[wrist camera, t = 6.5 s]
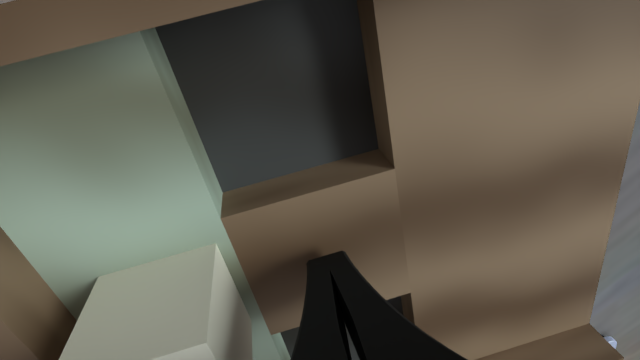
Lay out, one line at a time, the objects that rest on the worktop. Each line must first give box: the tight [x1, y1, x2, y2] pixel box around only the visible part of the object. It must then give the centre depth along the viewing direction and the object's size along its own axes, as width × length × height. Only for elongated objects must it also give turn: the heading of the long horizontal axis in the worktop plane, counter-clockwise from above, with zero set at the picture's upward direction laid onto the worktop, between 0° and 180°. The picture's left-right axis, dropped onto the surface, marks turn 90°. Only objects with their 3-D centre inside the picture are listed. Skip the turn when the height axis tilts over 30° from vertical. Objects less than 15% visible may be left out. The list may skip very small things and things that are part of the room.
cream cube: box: [59, 243, 253, 360], centre depth 12 cm, size 4×4×4 cm
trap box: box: [0, 0, 640, 360], centre depth 14 cm, size 20×22×4 cm
